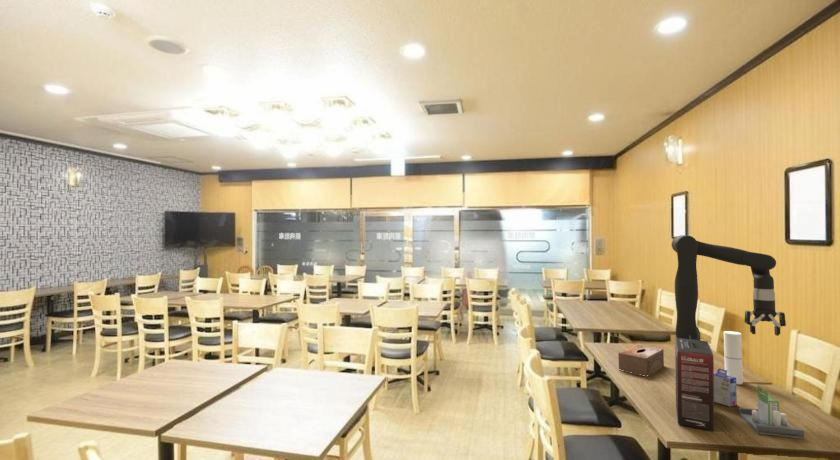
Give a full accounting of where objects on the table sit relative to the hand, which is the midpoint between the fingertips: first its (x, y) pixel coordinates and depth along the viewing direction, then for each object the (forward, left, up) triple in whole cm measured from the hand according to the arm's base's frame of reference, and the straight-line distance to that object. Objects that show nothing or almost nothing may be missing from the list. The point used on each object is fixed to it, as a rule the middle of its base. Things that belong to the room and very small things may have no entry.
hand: (765, 334), depth 181 cm
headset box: (-35, -26, -30) cm, 53 cm away
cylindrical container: (-4, +25, -30) cm, 39 cm away
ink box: (-10, -27, -29) cm, 41 cm away
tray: (-10, -27, -30) cm, 42 cm away
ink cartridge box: (-19, -6, -30) cm, 36 cm away
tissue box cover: (-44, +36, -31) cm, 65 cm away
